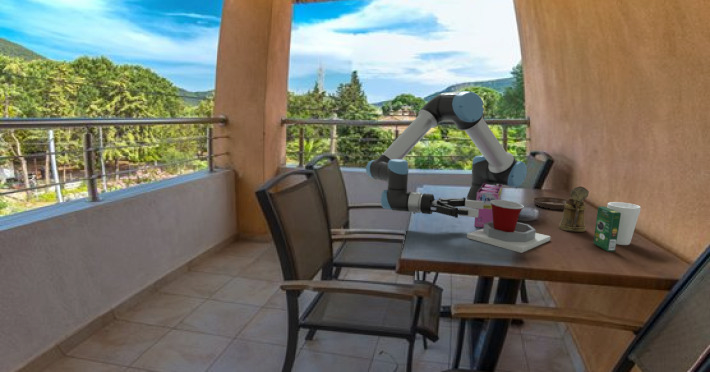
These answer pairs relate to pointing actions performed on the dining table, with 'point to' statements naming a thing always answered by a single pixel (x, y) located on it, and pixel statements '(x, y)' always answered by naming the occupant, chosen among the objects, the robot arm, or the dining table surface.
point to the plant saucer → (540, 203)
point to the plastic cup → (505, 214)
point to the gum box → (487, 202)
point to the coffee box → (606, 228)
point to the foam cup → (625, 220)
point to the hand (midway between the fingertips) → (481, 209)
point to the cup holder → (510, 237)
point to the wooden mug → (574, 211)
